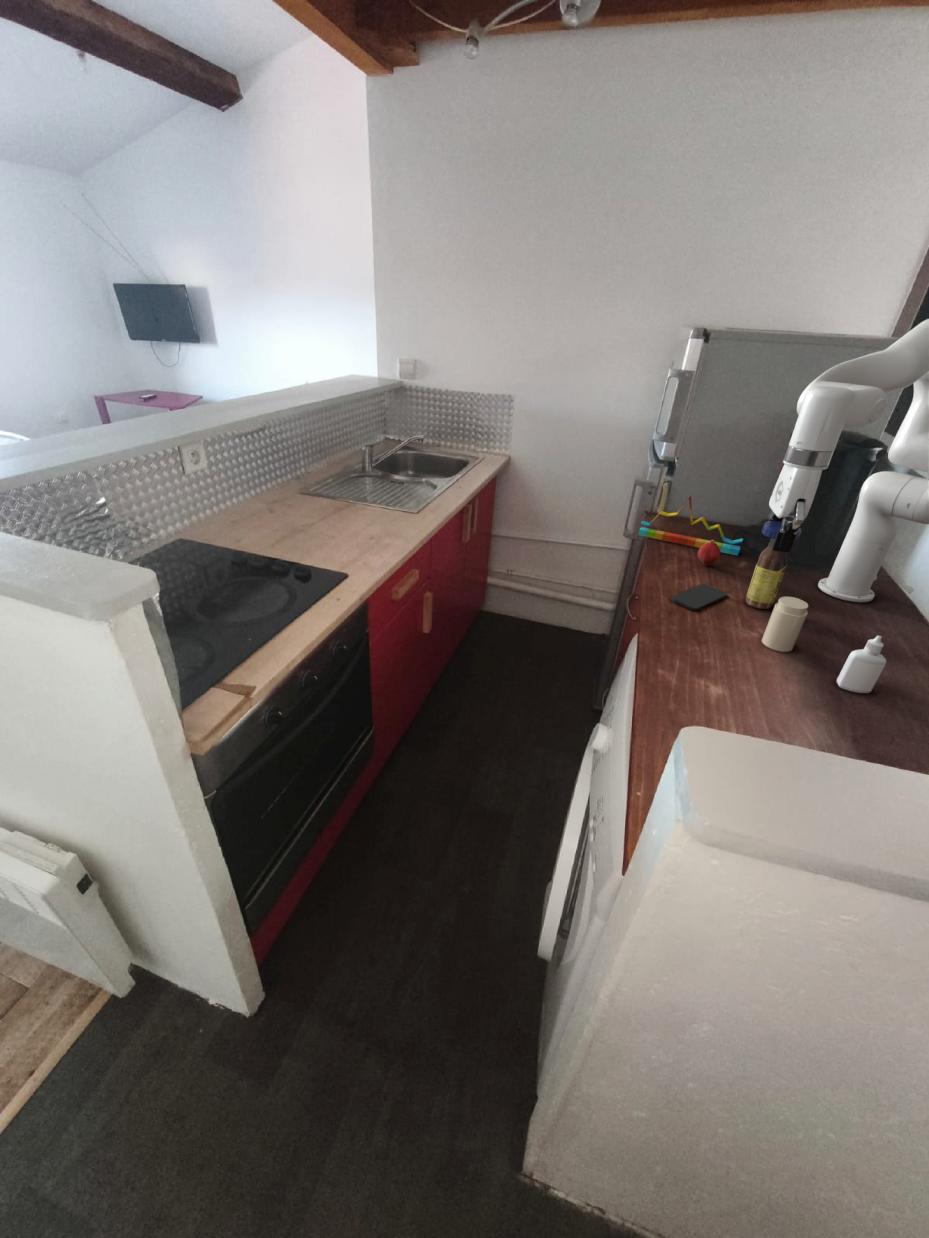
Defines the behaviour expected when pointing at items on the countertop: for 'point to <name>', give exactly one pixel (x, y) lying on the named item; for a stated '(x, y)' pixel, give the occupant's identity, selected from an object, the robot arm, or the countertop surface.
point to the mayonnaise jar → (785, 624)
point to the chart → (686, 539)
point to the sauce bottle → (766, 578)
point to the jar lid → (775, 529)
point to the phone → (699, 597)
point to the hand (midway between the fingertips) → (776, 543)
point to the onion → (709, 552)
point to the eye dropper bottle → (863, 668)
